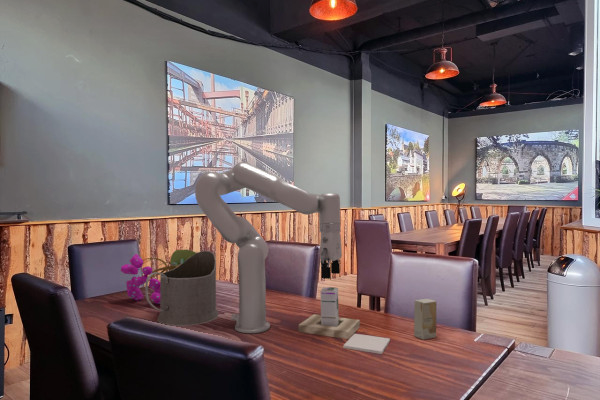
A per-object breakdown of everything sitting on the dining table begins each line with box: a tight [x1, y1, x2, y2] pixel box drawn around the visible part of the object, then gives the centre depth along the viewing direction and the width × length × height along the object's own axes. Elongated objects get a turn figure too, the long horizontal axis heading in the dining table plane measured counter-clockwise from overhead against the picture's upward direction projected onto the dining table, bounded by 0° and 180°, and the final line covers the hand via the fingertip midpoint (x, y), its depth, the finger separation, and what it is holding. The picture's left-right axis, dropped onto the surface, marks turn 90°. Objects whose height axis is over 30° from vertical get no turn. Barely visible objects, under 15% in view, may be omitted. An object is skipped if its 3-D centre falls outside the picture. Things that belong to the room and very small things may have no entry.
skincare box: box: [413, 298, 437, 340], centre depth 133 cm, size 6×4×12 cm
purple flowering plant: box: [119, 248, 197, 305], centre depth 186 cm, size 30×28×35 cm
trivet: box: [342, 333, 391, 355], centre depth 126 cm, size 12×12×1 cm
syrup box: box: [319, 286, 340, 327], centre depth 141 cm, size 6×6×14 cm
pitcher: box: [144, 250, 220, 327], centre depth 153 cm, size 23×32×25 cm
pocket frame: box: [298, 313, 361, 340], centre depth 141 cm, size 18×14×2 cm
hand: (330, 275), depth 141 cm, fingers open, 9 cm apart
